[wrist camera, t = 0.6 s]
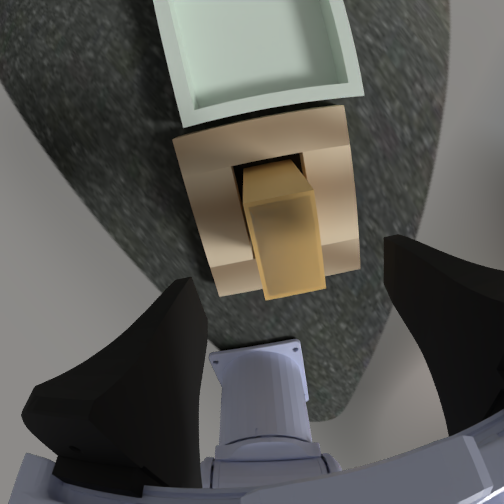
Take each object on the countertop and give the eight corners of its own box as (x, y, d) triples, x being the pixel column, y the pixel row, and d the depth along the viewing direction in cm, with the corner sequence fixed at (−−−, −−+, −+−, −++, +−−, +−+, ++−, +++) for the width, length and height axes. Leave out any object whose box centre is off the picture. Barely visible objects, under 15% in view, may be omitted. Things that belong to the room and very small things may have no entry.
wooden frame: (353, 258, 22) (360, 268, 21) (221, 284, 23) (219, 296, 21) (336, 104, 17) (343, 105, 16) (177, 136, 18) (172, 139, 16)
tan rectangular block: (302, 230, 21) (325, 288, 15) (259, 238, 21) (265, 300, 15) (290, 158, 19) (313, 189, 12) (243, 168, 19) (242, 203, 13)
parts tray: (349, 95, 17) (364, 95, 14) (191, 124, 17) (183, 128, 15) (315, -40, 12) (324, -55, 10) (158, -13, 13) (147, -26, 11)
